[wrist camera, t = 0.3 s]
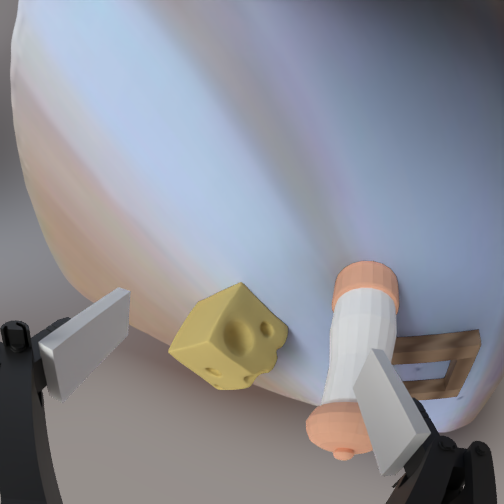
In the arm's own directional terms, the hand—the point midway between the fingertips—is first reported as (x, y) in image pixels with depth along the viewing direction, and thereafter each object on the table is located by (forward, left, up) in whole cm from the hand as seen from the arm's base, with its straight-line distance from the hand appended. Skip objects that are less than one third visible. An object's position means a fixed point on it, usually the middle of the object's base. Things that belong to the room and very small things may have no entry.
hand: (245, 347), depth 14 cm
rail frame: (+16, +27, -17) cm, 36 cm away
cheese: (+21, 0, -17) cm, 27 cm away
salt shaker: (+6, +11, -17) cm, 21 cm away
